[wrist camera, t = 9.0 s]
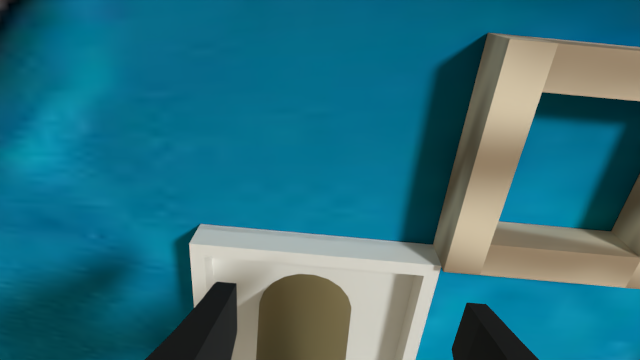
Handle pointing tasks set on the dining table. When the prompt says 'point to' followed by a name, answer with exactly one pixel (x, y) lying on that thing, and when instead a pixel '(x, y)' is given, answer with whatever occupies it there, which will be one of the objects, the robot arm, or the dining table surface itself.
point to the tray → (331, 263)
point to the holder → (503, 156)
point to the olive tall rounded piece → (303, 320)
